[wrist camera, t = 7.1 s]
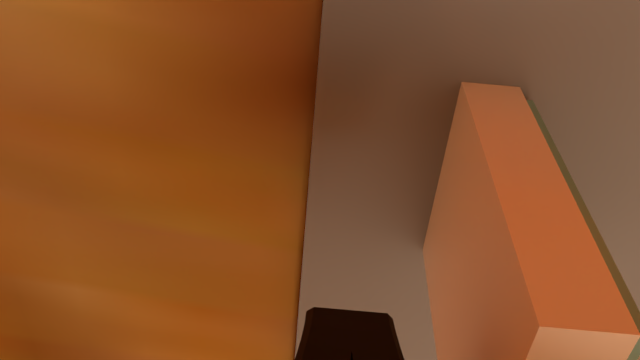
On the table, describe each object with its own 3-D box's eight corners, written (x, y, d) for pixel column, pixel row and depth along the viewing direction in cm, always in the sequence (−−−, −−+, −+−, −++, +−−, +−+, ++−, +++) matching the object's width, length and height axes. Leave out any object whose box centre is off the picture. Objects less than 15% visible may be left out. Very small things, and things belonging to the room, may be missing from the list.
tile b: (481, 254, 16) (549, 525, 11) (422, 249, 16) (458, 517, 11) (533, 88, 13) (664, 337, 8) (461, 81, 13) (539, 326, 8)
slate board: (762, 479, 23) (770, 495, 23) (288, 438, 23) (287, 454, 22) (1194, 23, 13) (1228, 34, 12) (327, -56, 12) (327, -48, 12)
